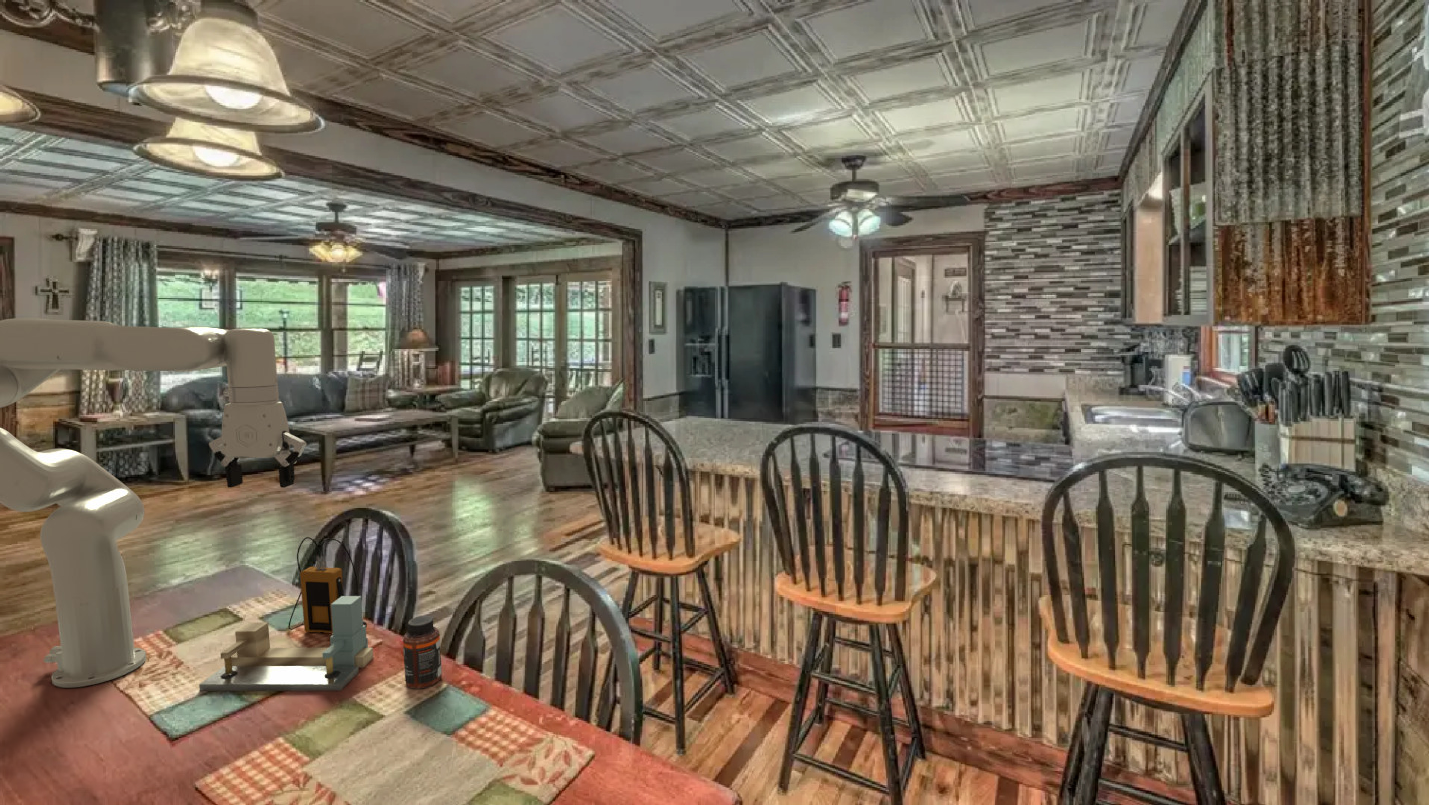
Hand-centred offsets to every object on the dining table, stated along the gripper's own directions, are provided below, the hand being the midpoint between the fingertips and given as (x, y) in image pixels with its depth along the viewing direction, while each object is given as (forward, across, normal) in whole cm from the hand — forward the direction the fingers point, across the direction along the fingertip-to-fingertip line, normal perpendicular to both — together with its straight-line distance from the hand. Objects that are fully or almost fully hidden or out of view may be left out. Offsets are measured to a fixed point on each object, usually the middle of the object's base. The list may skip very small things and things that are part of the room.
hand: (261, 485), depth 125 cm
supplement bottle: (+32, +34, -12) cm, 49 cm away
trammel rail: (+32, +9, -8) cm, 35 cm away
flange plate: (+32, +9, -12) cm, 36 cm away
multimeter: (+33, +6, +11) cm, 35 cm away
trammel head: (+32, +18, -8) cm, 37 cm away
